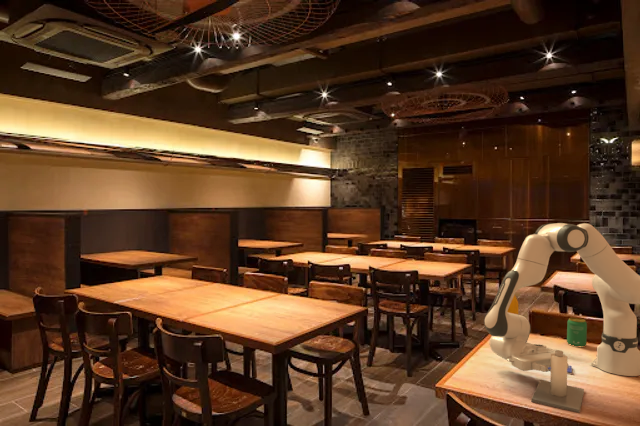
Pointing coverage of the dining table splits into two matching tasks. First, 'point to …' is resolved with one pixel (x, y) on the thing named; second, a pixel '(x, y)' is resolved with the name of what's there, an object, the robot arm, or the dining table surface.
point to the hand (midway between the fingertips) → (556, 368)
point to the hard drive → (569, 370)
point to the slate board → (567, 402)
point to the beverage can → (576, 331)
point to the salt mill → (558, 374)
